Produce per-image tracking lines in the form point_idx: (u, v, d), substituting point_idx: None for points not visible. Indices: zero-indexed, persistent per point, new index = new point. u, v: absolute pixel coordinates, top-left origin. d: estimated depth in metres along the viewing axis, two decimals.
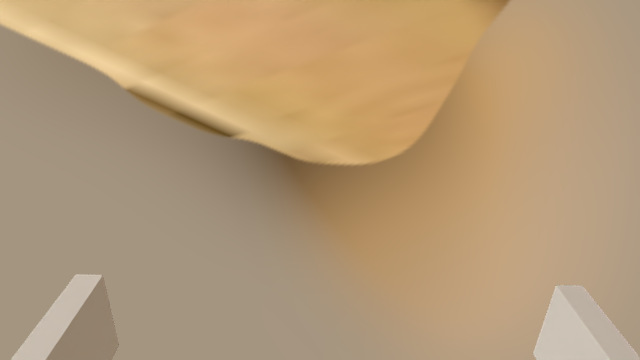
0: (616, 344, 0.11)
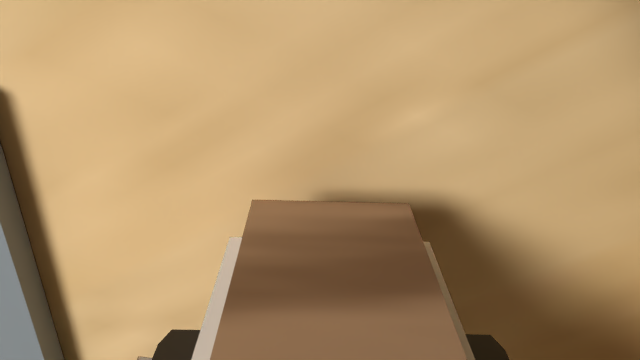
0: None
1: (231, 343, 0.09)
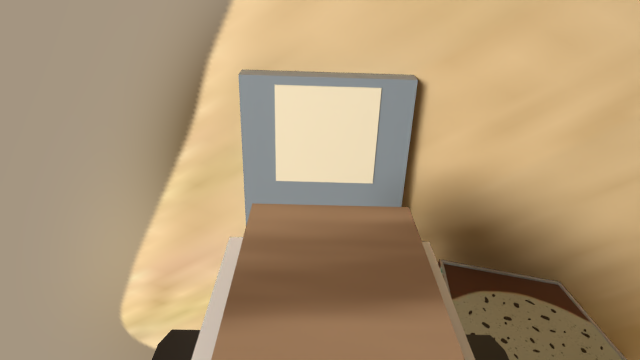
0: None
1: (231, 349, 0.09)
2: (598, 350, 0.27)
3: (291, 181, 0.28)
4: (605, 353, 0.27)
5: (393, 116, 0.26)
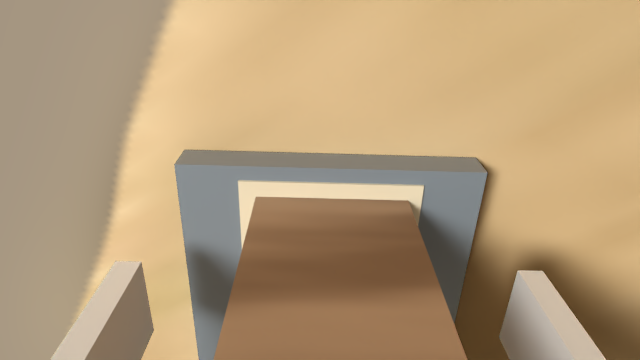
0: (568, 324, 0.11)
1: (237, 332, 0.09)
2: None
3: None
4: None
5: (442, 228, 0.15)
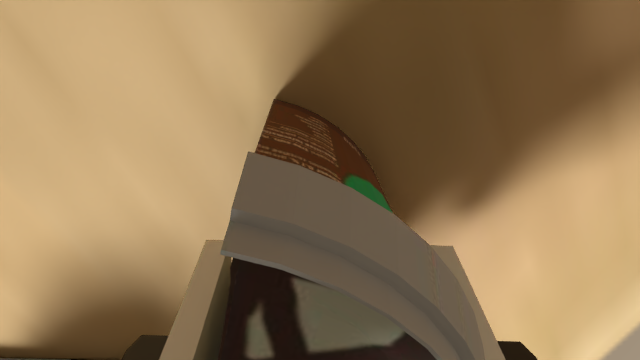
0: None
1: None
2: None
3: None
4: None
5: None
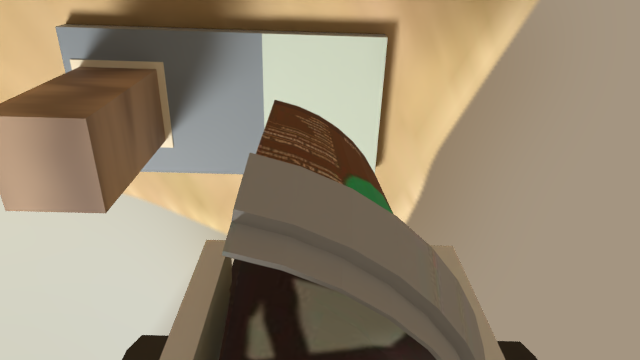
0: None
1: None
2: None
3: (172, 134, 0.31)
4: None
5: (93, 46, 0.29)
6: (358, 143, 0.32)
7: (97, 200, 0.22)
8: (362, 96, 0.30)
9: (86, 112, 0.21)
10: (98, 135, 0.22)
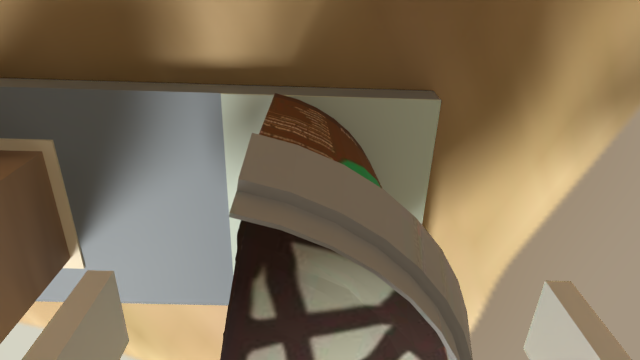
0: (602, 338, 0.11)
1: None
2: None
3: (81, 249, 0.19)
4: None
5: None
6: None
7: None
8: (393, 193, 0.18)
9: None
10: None
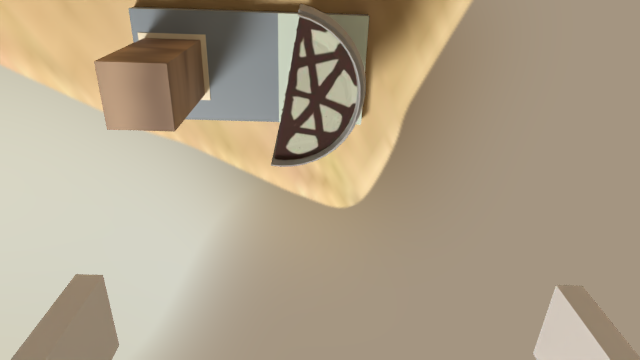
0: (616, 344, 0.11)
1: None
2: None
3: (210, 90, 0.42)
4: None
5: (155, 22, 0.40)
6: None
7: (169, 122, 0.33)
8: None
9: (164, 60, 0.32)
10: (171, 76, 0.32)
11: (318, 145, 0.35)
